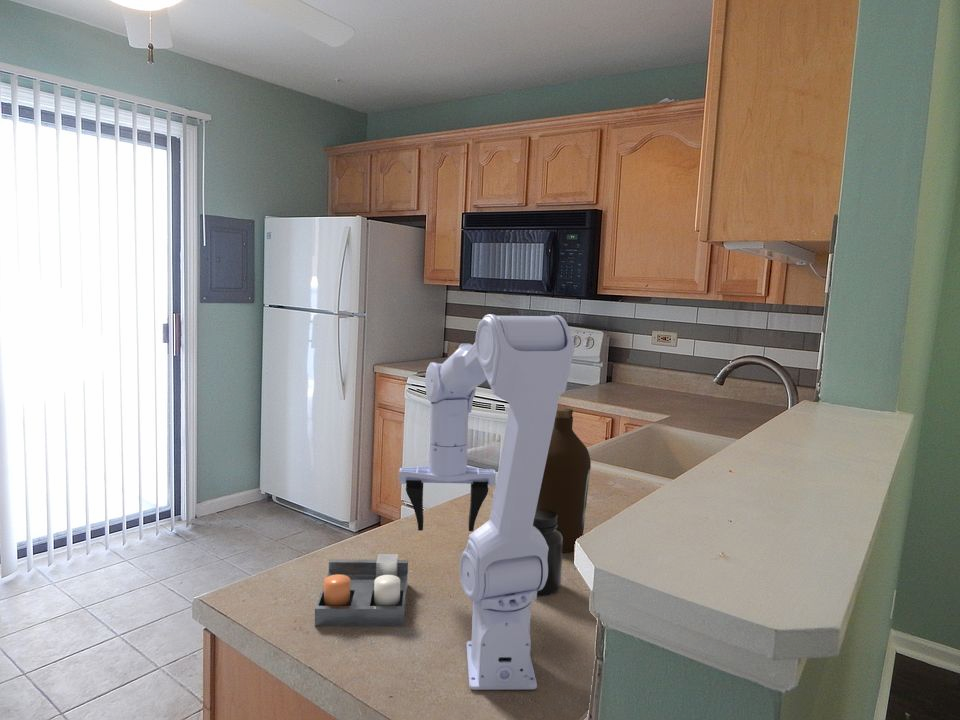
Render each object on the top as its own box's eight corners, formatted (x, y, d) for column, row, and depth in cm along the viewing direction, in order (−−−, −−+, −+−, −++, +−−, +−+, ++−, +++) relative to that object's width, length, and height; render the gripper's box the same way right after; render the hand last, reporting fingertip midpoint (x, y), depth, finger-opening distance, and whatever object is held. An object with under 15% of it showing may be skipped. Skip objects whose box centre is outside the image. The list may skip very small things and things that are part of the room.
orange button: (348, 607, 89) (348, 586, 89) (321, 607, 89) (321, 586, 89) (351, 594, 93) (351, 574, 92) (326, 594, 93) (326, 574, 92)
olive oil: (534, 555, 113) (542, 415, 110) (522, 531, 123) (528, 402, 120) (593, 553, 114) (602, 415, 111) (576, 530, 125) (583, 403, 121)
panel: (403, 626, 89) (403, 598, 88) (314, 625, 88) (314, 598, 88) (407, 584, 101) (408, 559, 100) (329, 583, 100) (329, 559, 99)
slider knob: (396, 582, 96) (396, 563, 95) (375, 582, 96) (376, 562, 95) (397, 572, 99) (398, 554, 98) (377, 572, 99) (378, 554, 98)
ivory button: (399, 607, 90) (399, 586, 89) (372, 607, 90) (373, 586, 89) (400, 594, 93) (401, 574, 93) (375, 594, 93) (375, 574, 93)
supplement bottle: (533, 572, 106) (536, 502, 105) (568, 586, 102) (573, 513, 101) (507, 587, 101) (511, 513, 100) (544, 602, 97) (548, 526, 95)
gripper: (494, 436, 102) (491, 519, 104) (402, 434, 101) (400, 517, 103) (498, 448, 95) (494, 537, 97) (398, 446, 94) (396, 535, 96)
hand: (445, 528), depth 99 cm, fingers open, 7 cm apart
